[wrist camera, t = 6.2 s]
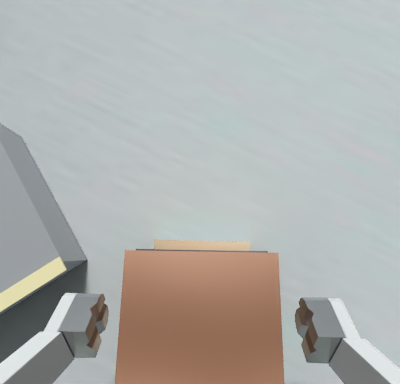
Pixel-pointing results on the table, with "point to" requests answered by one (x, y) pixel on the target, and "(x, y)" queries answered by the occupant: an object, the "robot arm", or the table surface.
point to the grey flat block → (29, 227)
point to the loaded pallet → (200, 315)
